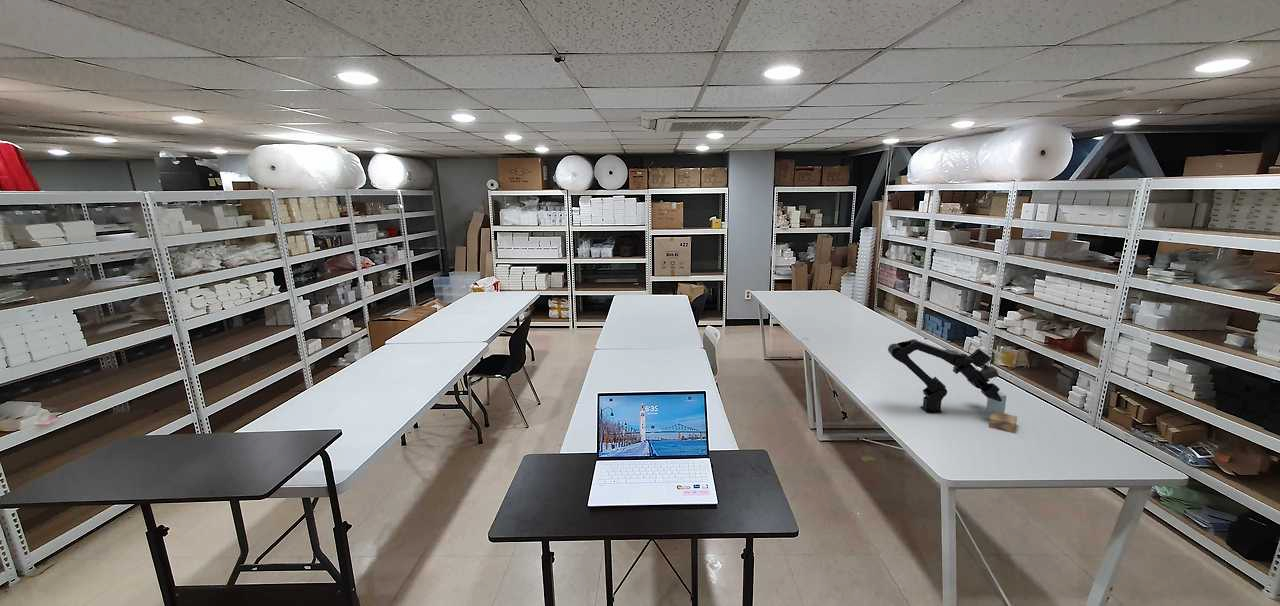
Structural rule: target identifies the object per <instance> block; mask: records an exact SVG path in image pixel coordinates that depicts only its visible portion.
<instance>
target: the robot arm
mask: <svg viewBox="0 0 1280 606" xmlns="http://www.w3.org/2000/svg"><path fill="white" fill-rule="evenodd" d="M916 351H920V352H922V353H925V354H928V355H931V356H933V357H936V358H938V359H941V360H943V361H944V362H946V363H949V364H950V365H952V366H953V367H952V372H953V373H955V375H957V374H959V373H960V374H962V376H963V377H965V378H966V381H967V382H968V383H970V384H971V385H972V386H973V387H975V388H977V389H979V390H980V391H981V394H982V395H984V396H985V397H986V399H988V398H991V399H994V400H996V401H999V402H1001V401H1002V399H1001V398H1000V396H999V394H998V391H1001V389H1000V387H999V386H998V385H996V384H994V383H992V382H990V379H993V378H998V377H999V376H1000V375H999V372H998V370H997V368H995V367H994V366H991V365H990V366H988V365H987V363H988V362H990V361H992V357H990V356H989V355H988V354H987V353H985V352H984V351H983V350H982V349H980V348H977V349H975V350H974V352H972V353H971V354H969V355H967V354H965V353H961V352H960V353H959V352H958V351H956V350H951V349H943V348H940V347H936V346H934V345H931V344H929V343H925V342H922V341H919V340H917V339H915V338H913V339H910V340H906V341H900V342H898V343H892V344H890V345H889V346H888V347H887V352H888V353H889V354H890V356H891V357H892V358H893V359H895V360H897V361H898V362H899V363H902V364H903V365H904V366H906V367H907V368H908V369H909V370H910V371H911V372H912V373H913V374H914V375H916V376H917V377H918V378H919V379H920V380H921V381H922V382H923V383H924V384H925V388H924V389H923V390H922V393H923V395H924V396H923V400H922V406H920V408H921V409H922V410H924V411H925V412H926V413H927V414H936V413H940V414H941V413H942V412H943V411H942V410H941V409H942V400H943V399H944V397H946V396H947V394H948V390H947V386H946V385H945V384H944V383H943V382H942V381H940V380H939V379H938V378H937V376H934V377H931V376H930V375H929V374H928V373H927V372H925V371H924V370H923V369H922V368H921V367H920V366H919V365H917V363H915V362H914V361H913V360H912V359H911V358H910V356H909V355H911V354H912V353H914V352H916ZM977 368H981V370H979V369H977Z"/></svg>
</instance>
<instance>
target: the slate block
mask: <svg viewBox="0 0 1280 606" xmlns="http://www.w3.org/2000/svg"><path fill="white" fill-rule="evenodd" d="M998 394H999V396H1000V398H1001V399H1002V401H1001V402H999V401H996V400H994V399H991V398H986V399H987V402H986V410H985V411H986V413H988V414H989V416H990V415H991V412H992V411H994V412H999V413H1004V414H1005V408H1006V402H1007V397H1008V396H1007V394H1005V393H1004V392H1003V391H1001V390H999V391H998Z"/></svg>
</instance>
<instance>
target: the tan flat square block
mask: <svg viewBox="0 0 1280 606" xmlns="http://www.w3.org/2000/svg"><path fill="white" fill-rule="evenodd" d="M1017 421H1018V416H1016V415H1012V414H1008V413H1005V412H1004V413H999V412H994V411H992V412H991V415H990V414H989V419H988V427H989V428H991V429H996V430H1000V431H1004V432H1009V433H1016V428H1017Z"/></svg>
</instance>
